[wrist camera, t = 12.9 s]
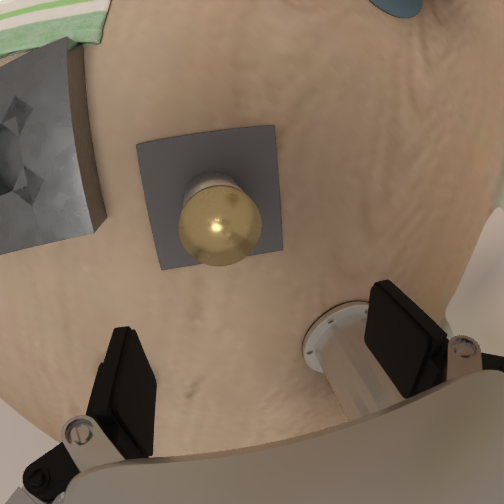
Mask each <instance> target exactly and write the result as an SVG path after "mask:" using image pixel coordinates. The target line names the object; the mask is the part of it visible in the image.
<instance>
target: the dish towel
mask: <svg viewBox="0 0 504 504" xmlns="http://www.w3.org/2000/svg"><path fill="white" fill-rule="evenodd" d="M110 2H111V0H0V58H2V57H6V56H9V55H13V54H16V53H20V52H24V51H29V50H33V49H37V48H39V47H42V46H44V45H46V44H49V43H51V42H53V41H56V40H58V39H61V38H63V37H66V36H67V37H69V38H70V39H72V40H73V41H75V42H76V43H81V42H84V43H83V44H82V45H81V46H86V45H96V44H99V43H100V40H101V38H102V29H103V25H104V22H105V18H106V15H107V12H108V9H109V6H110Z"/></svg>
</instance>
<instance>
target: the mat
mask: <svg viewBox="0 0 504 504" xmlns="http://www.w3.org/2000/svg"><path fill="white" fill-rule="evenodd" d="M136 148H137V155H138V161H139V167H140V173H141V178H142V184H143V189H144V195H145V200H146V205H147V210H148V215H149V219H150V224H151V229H152V233H153V238H154V242H155V246H156V250H157V255H158V259H159V263H160V267H161V270H167V269H173V268H179V267H185V266H191V265H197V264H203V263H201V262H199V261H197V260H196V259H194V258H193V257H192V256H191V255H190V254H189V253H188V252H187V251H186V250H185V248H184V246H183V245H182V242H181V240H180V236H179V219H180V214H181V211H182V205H183V198H184V193H185V190H186V188H187V186H188V184H189V183H190V182H191V181H192V180H193V179H194V178H195V177H196V176H198V175H200V174H202V173H205V172H210V171H217V172H221V173H224V174H226V175H228V176H230V177H231V178H232V179H234V181H235V182H236V183H237V184H238V185H239V187H240V188H241V189H242V190H243V192H244V193H245V194H247V195H248V196H249V197H250V199H251V200H252V201H253V202H254V203H255V205H256V207H257V208H258V211H259V213H260V216H261V222H262V228H261V234H260V238H259V240H258V243H257V244H256V246H255V248H254V249H253V250H252V251H251V253H250V254H249V255H247V256H251V255H257V254H263V253H269V252H275V251H281V250H283V237H282V220H281V204H280V190H279V175H278V162H277V149H276V137H275V126H274V125H269V126H257V127H246V128H237V129H228V130H220V131H212V132H205V133H198V134H191V135H185V136H179V137H173V138H167V139H162V140H157V141H152V142H147V143H142V144H137V145H136Z"/></svg>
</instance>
